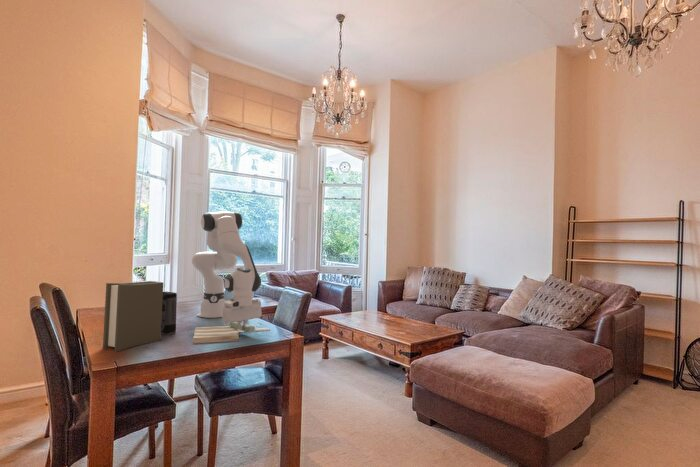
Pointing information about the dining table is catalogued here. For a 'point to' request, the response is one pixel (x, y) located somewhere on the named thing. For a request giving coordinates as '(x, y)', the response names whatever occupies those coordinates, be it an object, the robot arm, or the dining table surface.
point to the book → (132, 314)
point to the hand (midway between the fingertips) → (242, 329)
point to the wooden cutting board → (218, 334)
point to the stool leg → (247, 328)
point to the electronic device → (169, 313)
